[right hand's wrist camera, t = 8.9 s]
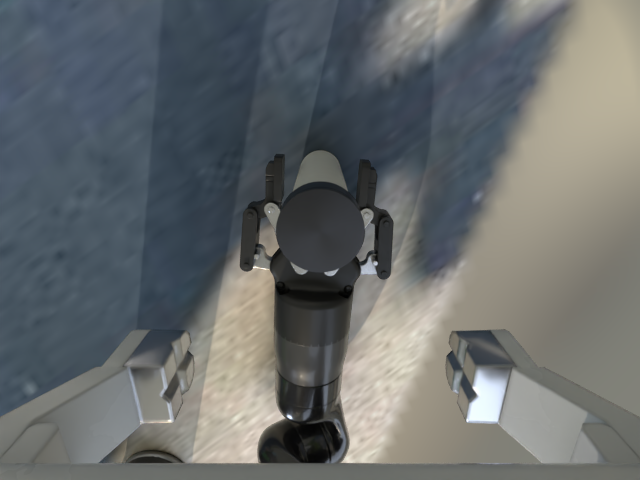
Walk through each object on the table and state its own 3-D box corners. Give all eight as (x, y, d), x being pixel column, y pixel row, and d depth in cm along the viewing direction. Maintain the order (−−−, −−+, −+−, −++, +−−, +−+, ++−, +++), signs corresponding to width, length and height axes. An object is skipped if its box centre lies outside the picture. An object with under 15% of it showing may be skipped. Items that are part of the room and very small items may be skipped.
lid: (276, 254, 22) (272, 268, 21) (282, 176, 21) (279, 183, 19) (354, 262, 23) (357, 276, 21) (367, 185, 21) (371, 194, 19)
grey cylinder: (298, 188, 38) (280, 260, 21) (301, 148, 37) (285, 188, 19) (337, 193, 38) (352, 267, 21) (343, 152, 37) (363, 197, 20)
